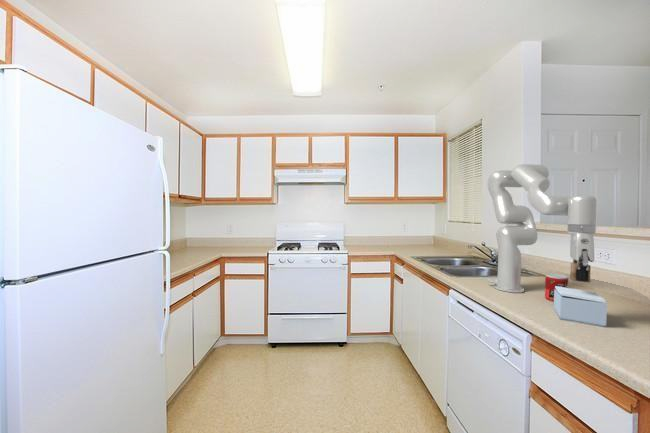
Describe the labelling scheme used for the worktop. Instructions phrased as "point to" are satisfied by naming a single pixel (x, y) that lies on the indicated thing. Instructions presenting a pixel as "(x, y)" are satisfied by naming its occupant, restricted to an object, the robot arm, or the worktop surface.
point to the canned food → (554, 284)
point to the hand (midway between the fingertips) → (579, 278)
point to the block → (573, 272)
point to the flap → (580, 294)
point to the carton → (580, 310)
